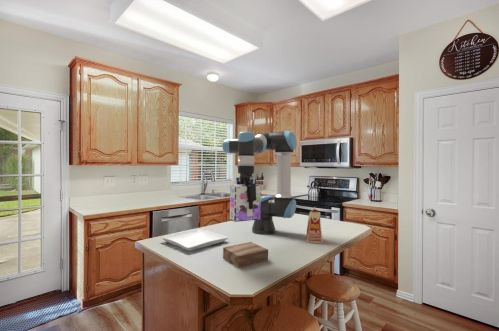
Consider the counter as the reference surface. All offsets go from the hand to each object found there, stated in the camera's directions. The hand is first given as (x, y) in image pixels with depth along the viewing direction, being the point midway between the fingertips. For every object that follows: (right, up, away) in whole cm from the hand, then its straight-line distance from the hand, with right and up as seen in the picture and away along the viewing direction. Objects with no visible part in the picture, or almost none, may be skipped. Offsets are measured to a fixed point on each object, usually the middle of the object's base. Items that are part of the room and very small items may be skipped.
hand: (245, 214), depth 124 cm
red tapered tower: (+40, -21, +31) cm, 55 cm away
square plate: (-29, -21, +26) cm, 44 cm away
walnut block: (0, -21, +1) cm, 21 cm away
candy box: (0, -3, 0) cm, 3 cm away
